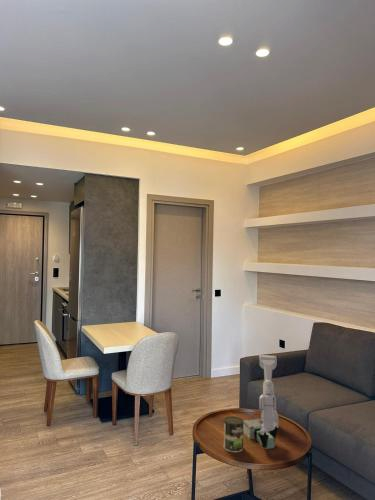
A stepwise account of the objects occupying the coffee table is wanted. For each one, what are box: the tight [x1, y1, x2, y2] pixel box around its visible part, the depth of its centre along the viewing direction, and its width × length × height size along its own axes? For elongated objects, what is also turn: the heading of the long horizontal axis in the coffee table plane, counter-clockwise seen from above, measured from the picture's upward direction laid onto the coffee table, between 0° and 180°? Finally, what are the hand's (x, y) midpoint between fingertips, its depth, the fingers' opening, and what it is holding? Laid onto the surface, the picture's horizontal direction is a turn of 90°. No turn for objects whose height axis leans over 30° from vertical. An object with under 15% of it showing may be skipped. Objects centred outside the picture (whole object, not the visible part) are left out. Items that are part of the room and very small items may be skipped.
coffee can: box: [223, 416, 244, 453], centre depth 192 cm, size 10×10×14 cm
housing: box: [243, 418, 269, 440], centre depth 208 cm, size 11×10×6 cm
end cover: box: [256, 431, 275, 450], centre depth 196 cm, size 5×10×5 cm, turn 15°
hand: (268, 444), depth 192 cm, fingers open, 7 cm apart
